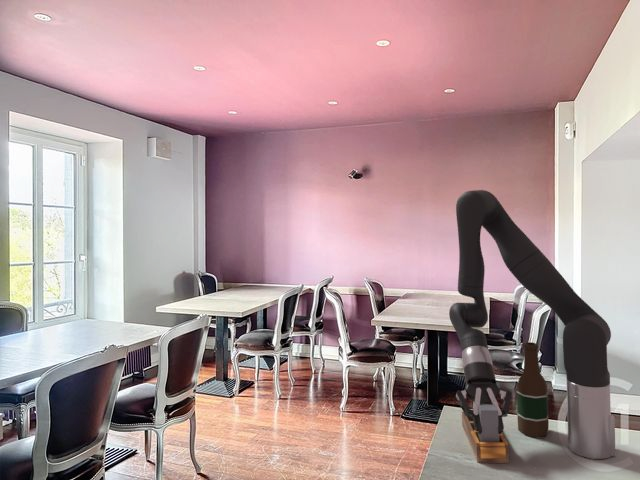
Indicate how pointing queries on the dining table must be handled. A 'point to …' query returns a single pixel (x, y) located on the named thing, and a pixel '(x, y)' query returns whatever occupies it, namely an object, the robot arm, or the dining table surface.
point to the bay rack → (485, 444)
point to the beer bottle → (532, 396)
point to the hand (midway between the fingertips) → (490, 432)
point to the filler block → (488, 423)
